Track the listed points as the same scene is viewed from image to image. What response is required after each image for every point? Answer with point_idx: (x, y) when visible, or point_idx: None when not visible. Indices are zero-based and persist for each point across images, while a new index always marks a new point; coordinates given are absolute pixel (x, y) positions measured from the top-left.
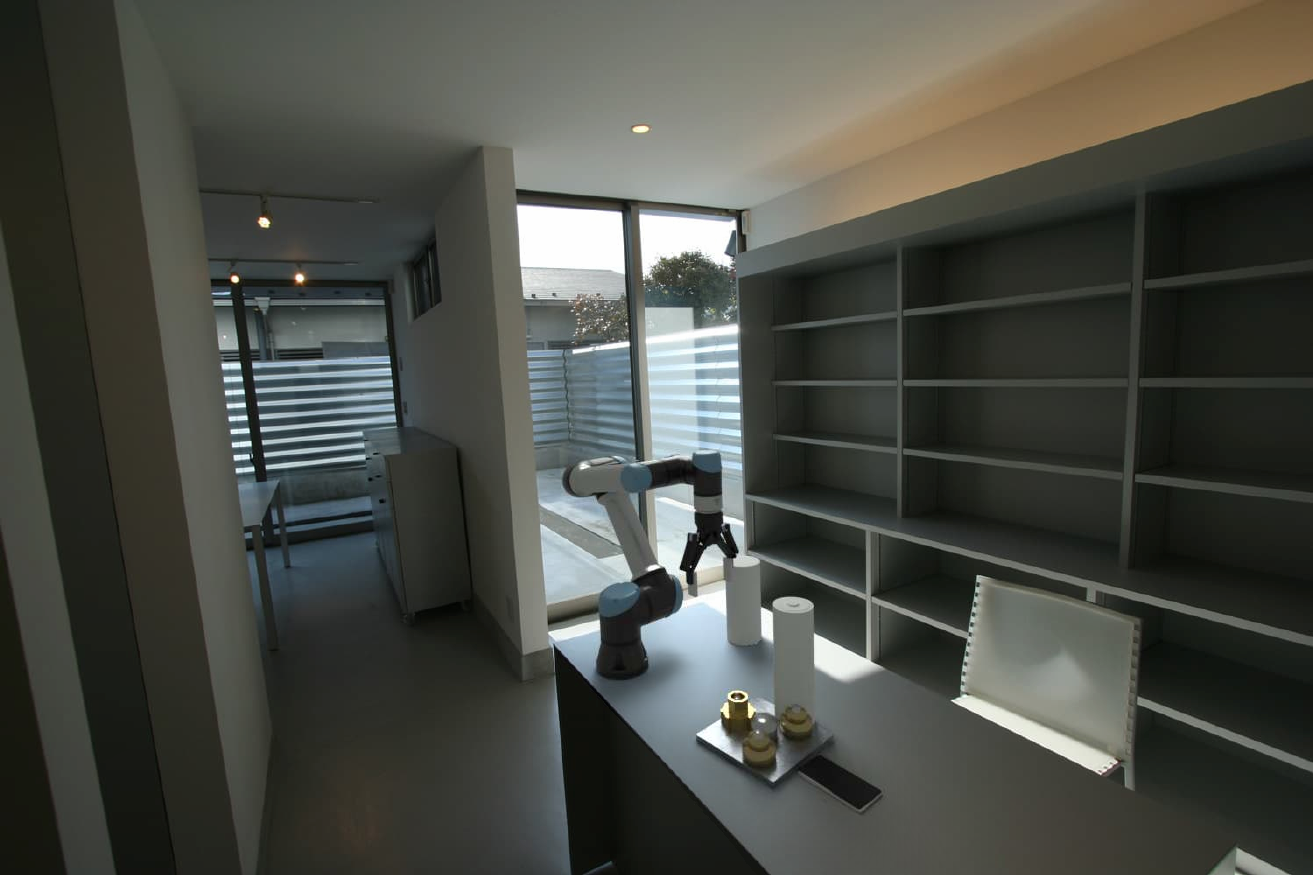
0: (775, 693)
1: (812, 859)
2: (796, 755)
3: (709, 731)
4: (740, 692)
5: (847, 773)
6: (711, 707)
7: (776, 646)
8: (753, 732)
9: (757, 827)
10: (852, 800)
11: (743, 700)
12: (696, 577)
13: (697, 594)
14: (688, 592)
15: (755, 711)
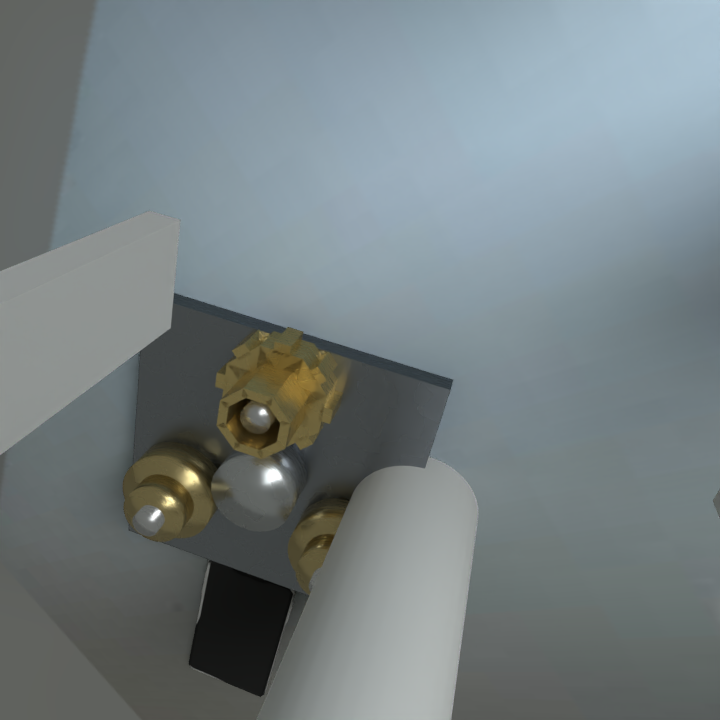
0: (344, 529)
1: (48, 605)
2: (241, 555)
3: (181, 325)
4: (280, 424)
5: (269, 644)
6: (332, 246)
7: (267, 701)
8: (159, 499)
9: (35, 516)
10: (202, 654)
11: (242, 449)
12: (13, 434)
13: (158, 335)
14: (137, 220)
15: (299, 448)
